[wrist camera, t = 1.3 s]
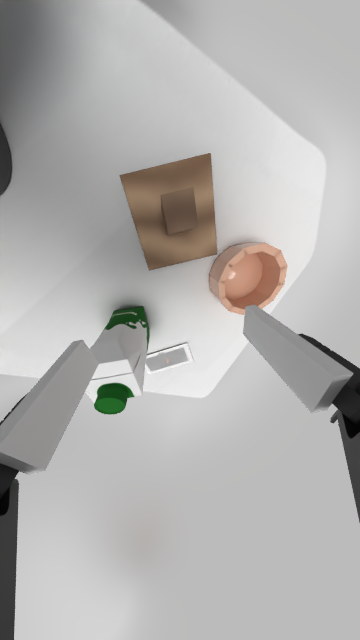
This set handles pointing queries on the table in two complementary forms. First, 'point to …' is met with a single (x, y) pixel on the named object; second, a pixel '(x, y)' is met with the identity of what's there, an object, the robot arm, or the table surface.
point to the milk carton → (119, 360)
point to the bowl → (247, 276)
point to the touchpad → (168, 359)
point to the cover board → (152, 217)
